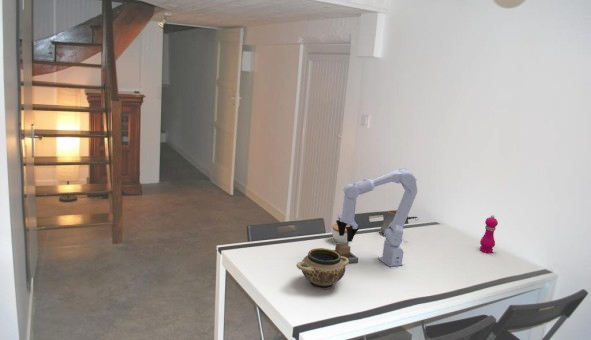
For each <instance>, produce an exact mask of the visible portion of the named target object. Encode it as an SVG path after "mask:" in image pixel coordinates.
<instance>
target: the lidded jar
mask: <svg viewBox="0 0 591 340" xmlns="http://www.w3.org/2000/svg"><path fill="white" fill-rule="evenodd" d="M346 227H350V225H348V224H347V225H346ZM331 234H332V237H333V240H335V242H336V243H346V244H348V243H349V242H348V241H347V230H346V228H345V233H344V236H339V230H338V225H337V223H336V224H333V225H332V233H331Z"/></svg>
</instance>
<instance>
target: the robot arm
mask: <svg viewBox="0 0 591 340" xmlns="http://www.w3.org/2000/svg"><path fill="white" fill-rule="evenodd" d="M389 183H395V184H398V185H400V184H401V186H402V188H403V189H404V193H403V195H402V198H401V200H400V202H399V204H398V207H397V209H396V214H395V217H394V219H393V222H391V223H390V224H389V226H388V228H386V230H385V231H384V234H383V235H384V237H385V239H384V240H383V241H384V243H383V248H382V249H383V250H382V256H380V257H379V256H378V260H380V261H381V262H383V264H385V265H386V266H388V267H398V266H403V265H404V263H403V258H404V250H403V249H402V247H401V244H402V243H403V235H404V225H405V223H406V220H408V219H407V217H409V214H410V211H411V209H412V205H413V203H414V201H415V200H416V196H417V194H418V186H417V178H416V176H415V175H414V174H413V173H412V172H410V171H408V169H406V168H402V167H401V168H399V169H394V170H392V171H391V172H388V173H386V174H384V175H381V176H379V177H376V178H374V179H371V178H366V177H364V178H362V180H360V181H357V182H356V181H354V182H353V184H352V183H348V184H346V185H345V186H344V188H343V192H344V195H343V196H344V197H343V203H342V211H341V212H342V213H341V214H337V215H338V216H337V220H335V223H336V224H337V225H338V230H339V236H344V233H345V228H346V230H347V241H348V242H347V243H350V242H353V240H354V238H355V235H356V233H357V232H358V231H359V227H358V226H359V224H357V223H356V220H355V216H356V208H357V207H356V205H357V198H359V195H364V194H366V193H369V192H372V191H374V189H375V187H379V186H381V185H386V184H389ZM346 225H349V226H350V227H346Z"/></svg>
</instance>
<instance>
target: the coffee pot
mask: <svg viewBox="0 0 591 340" xmlns="http://www.w3.org/2000/svg"><path fill="white" fill-rule="evenodd" d="M396 212H397V210H388V211H387V213H388V215H387V217H386V218H385V220H384V221H383V223H382V225H381V226H380V231H381V233H382V234H383V235H384V231H385V230H386V228H388V226H389V224H390V223H391V222H393V219H394V217H395V214H396ZM406 220H415V221H419V218H418V217H417V216H407V219H406Z"/></svg>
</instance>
